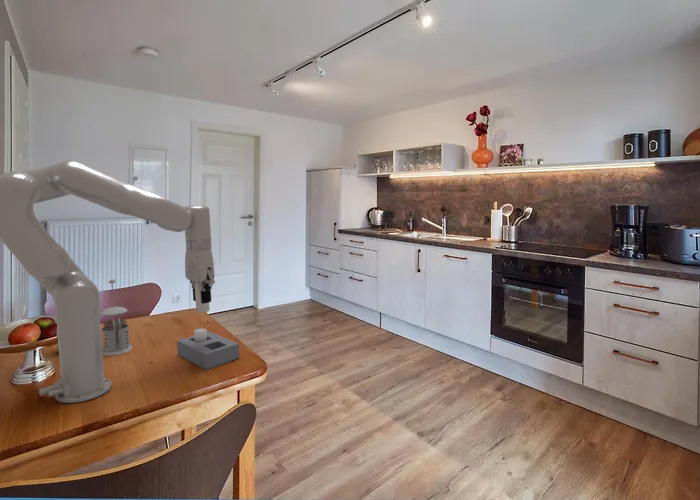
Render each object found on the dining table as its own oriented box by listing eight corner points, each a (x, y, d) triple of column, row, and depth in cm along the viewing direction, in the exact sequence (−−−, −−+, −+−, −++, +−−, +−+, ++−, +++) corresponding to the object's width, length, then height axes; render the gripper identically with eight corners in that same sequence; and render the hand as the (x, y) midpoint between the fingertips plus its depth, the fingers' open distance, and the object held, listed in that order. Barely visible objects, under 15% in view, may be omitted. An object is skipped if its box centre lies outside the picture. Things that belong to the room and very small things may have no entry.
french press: (130, 342, 143) (126, 275, 139) (135, 352, 133) (131, 281, 130) (99, 348, 137) (93, 278, 134) (101, 359, 128) (96, 284, 124)
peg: (200, 313, 123) (198, 282, 122) (193, 311, 126) (191, 280, 124) (212, 310, 126) (210, 280, 125) (205, 308, 129) (203, 278, 127)
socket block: (206, 369, 121) (205, 345, 120) (177, 354, 132) (176, 331, 131) (239, 358, 130) (238, 335, 129) (210, 344, 141) (209, 323, 140)
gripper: (173, 244, 125) (177, 299, 128) (202, 248, 115) (206, 308, 117) (195, 241, 131) (199, 295, 134) (224, 245, 121) (227, 303, 123)
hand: (202, 300), depth 125 cm, fingers closed on peg, 4 cm apart
